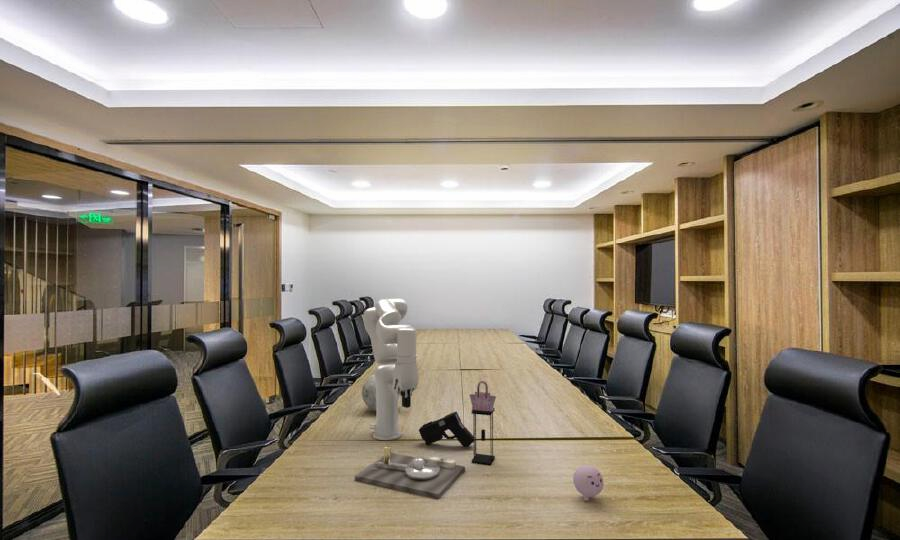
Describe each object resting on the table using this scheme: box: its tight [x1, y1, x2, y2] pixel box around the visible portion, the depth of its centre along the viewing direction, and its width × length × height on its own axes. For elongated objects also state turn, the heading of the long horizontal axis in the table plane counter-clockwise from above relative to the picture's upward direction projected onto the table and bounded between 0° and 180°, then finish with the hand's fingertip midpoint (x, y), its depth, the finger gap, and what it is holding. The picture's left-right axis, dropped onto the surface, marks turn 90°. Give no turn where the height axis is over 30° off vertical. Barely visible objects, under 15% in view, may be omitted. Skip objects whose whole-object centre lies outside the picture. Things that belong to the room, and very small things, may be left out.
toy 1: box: [418, 411, 474, 449], centre depth 179 cm, size 5×20×15 cm, turn 78°
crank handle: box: [378, 445, 440, 480], centre depth 152 cm, size 23×12×7 cm, turn 72°
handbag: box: [469, 380, 497, 466], centre depth 164 cm, size 10×8×30 cm
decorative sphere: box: [361, 373, 401, 412], centre depth 228 cm, size 20×20×20 cm
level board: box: [354, 452, 466, 500], centre depth 152 cm, size 32×22×4 cm
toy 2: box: [572, 464, 604, 502], centre depth 135 cm, size 9×9×10 cm
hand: (406, 406), depth 167 cm, fingers closed
